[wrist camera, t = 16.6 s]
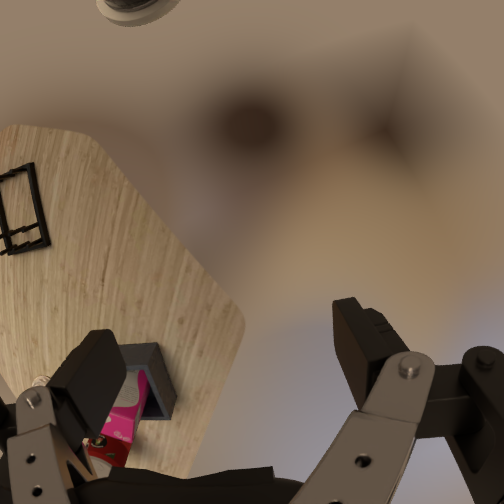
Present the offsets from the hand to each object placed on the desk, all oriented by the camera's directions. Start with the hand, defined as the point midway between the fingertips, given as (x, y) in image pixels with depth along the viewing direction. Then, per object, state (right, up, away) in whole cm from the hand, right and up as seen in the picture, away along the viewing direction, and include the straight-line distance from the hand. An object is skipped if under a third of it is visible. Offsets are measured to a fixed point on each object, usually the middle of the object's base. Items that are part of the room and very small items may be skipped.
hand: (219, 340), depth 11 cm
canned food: (-24, -30, +38) cm, 55 cm away
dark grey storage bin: (-17, -16, +34) cm, 41 cm away
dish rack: (-32, +9, +26) cm, 43 cm away
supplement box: (-17, -16, +33) cm, 41 cm away
